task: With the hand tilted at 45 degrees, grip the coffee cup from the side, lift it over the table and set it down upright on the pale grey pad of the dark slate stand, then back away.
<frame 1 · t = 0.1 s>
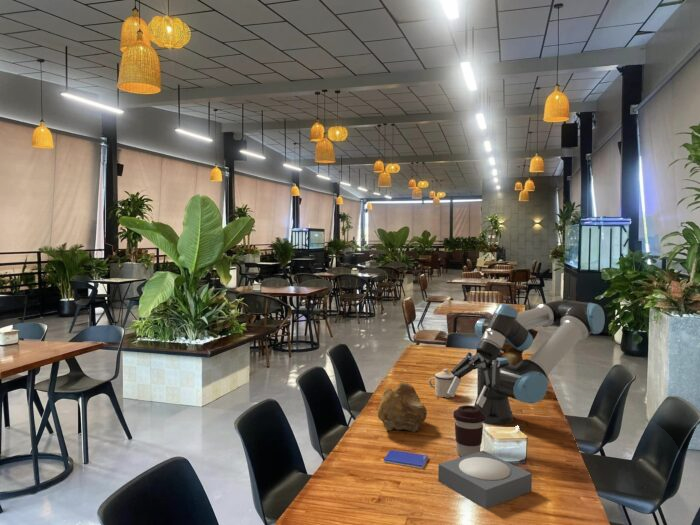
hand: (463, 400, 176), 15 cm above the table, tool tilted 35°, fingers open, 13 cm apart
hard drive: (406, 462, 165), on the table
coffee cup: (468, 454, 169), on the table
rough brown rock: (404, 427, 193), on the table
slate stand: (483, 486, 148), on the table
teacup with lid: (441, 395, 233), on the table
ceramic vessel: (511, 389, 243), on the table
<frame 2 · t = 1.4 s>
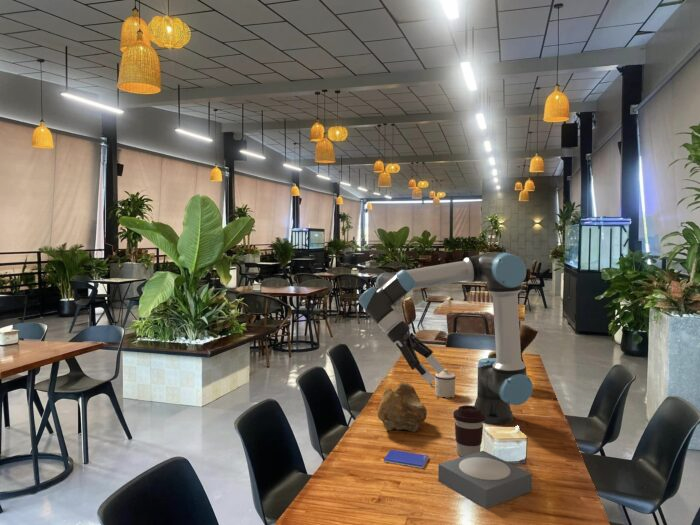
hand: (437, 376, 172), 24 cm above the table, tool tilted 45°, fingers open, 13 cm apart
nothing on the table moved.
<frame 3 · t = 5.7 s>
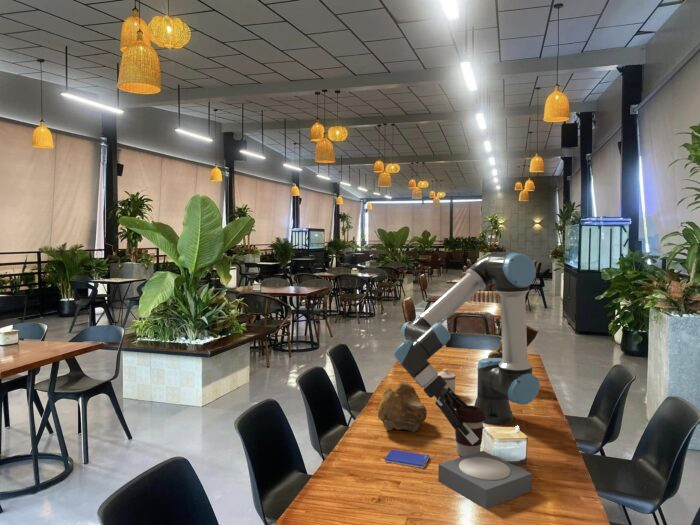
hand: (478, 435, 168), 6 cm above the table, tool tilted 45°, fingers closed on coffee cup, 10 cm apart
coffee cup: (468, 454, 169), on the table, touching gripper
everything else where it was.
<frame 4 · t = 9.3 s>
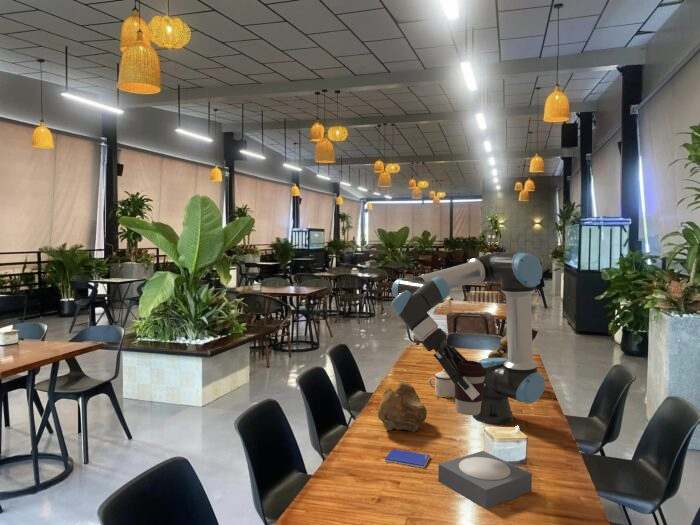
hand: (479, 392, 157), 24 cm above the table, tool tilted 45°, fingers closed on coffee cup, 10 cm apart
coffee cup: (467, 412, 158), point 17 cm above the table, touching gripper
everything else where it was.
when the fingers open (13 cm above the table, at t = 13.0 s): coffee cup drops 2 cm, resting on slate stand.
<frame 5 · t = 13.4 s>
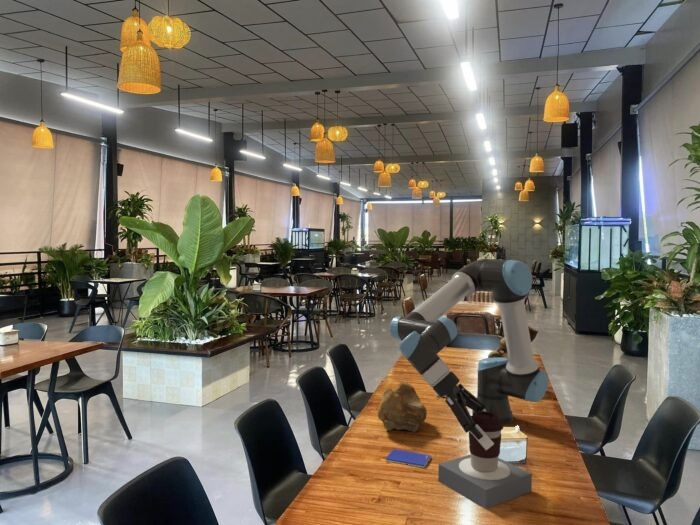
hand: (493, 438, 146), 14 cm above the table, tool tilted 45°, fingers open, 13 cm apart
coffee cup: (484, 467, 148), point 5 cm above the table, touching slate stand
everything else where it was.
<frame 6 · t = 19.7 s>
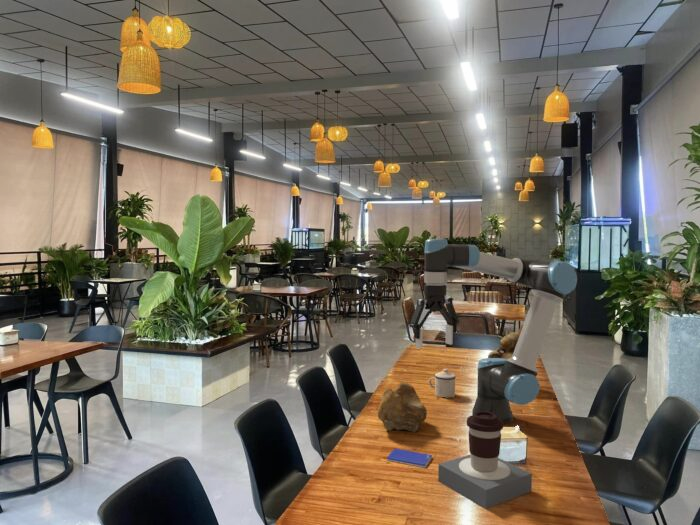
hand: (434, 346, 179), 33 cm above the table, tool pointing down, fingers open, 13 cm apart
at the end: coffee cup inside the target area on the slate stand (0.4 cm from its centre), point 5.1 cm above the slate stand's base; coffee cup tilted 0°; the gripper is holding nothing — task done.
